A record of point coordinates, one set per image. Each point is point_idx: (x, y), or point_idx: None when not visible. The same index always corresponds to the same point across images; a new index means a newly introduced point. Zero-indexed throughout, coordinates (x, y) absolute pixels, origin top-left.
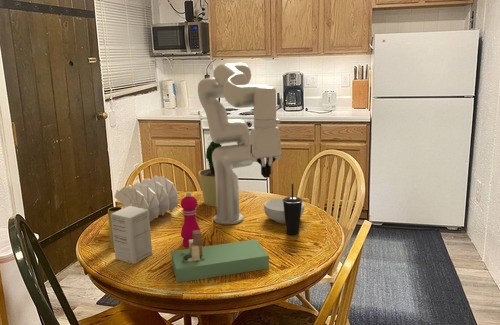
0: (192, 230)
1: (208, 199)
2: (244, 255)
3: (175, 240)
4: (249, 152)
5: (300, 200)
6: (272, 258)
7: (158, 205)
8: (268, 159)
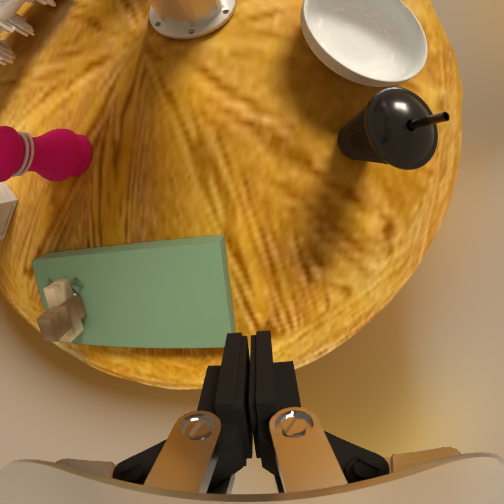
0: (52, 177)
1: None
2: (174, 331)
3: (50, 130)
4: None
5: (429, 152)
6: (256, 285)
7: (16, 28)
8: (302, 469)
